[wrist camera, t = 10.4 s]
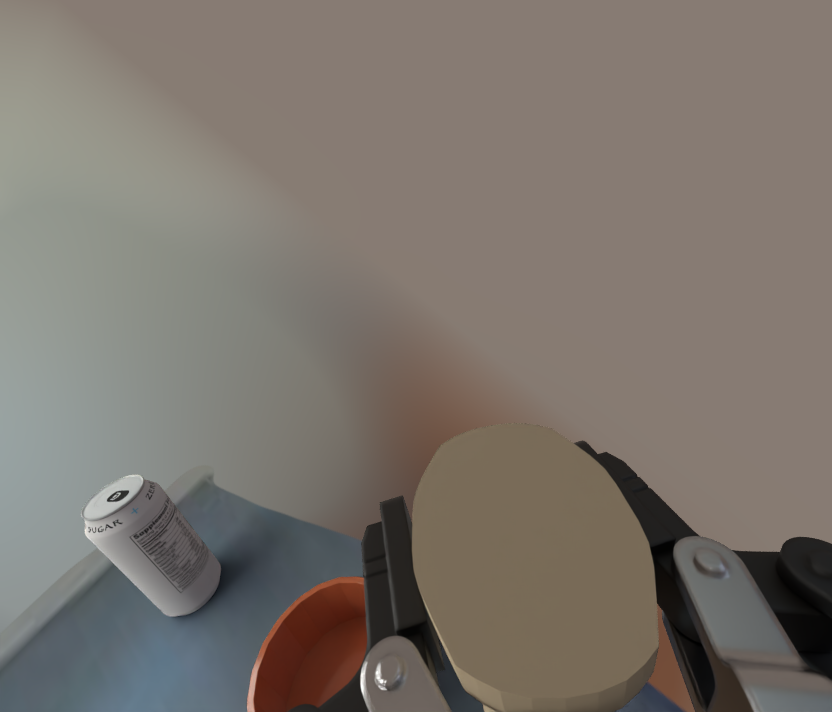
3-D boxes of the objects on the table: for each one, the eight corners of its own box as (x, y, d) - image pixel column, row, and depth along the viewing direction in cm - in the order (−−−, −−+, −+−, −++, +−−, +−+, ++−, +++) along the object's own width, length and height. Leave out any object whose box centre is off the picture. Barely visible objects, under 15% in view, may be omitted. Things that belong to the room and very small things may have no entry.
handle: (576, 657, 18) (572, 412, 11) (650, 890, 12) (738, 684, 5) (477, 666, 18) (414, 437, 11) (503, 893, 13) (408, 710, 6)
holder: (385, 588, 35) (369, 550, 33) (454, 720, 26) (439, 683, 23) (269, 672, 31) (238, 637, 28) (302, 864, 22) (262, 840, 19)
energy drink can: (191, 562, 43) (114, 470, 36) (235, 563, 41) (165, 468, 34) (152, 620, 38) (54, 526, 31) (201, 623, 36) (111, 525, 29)
